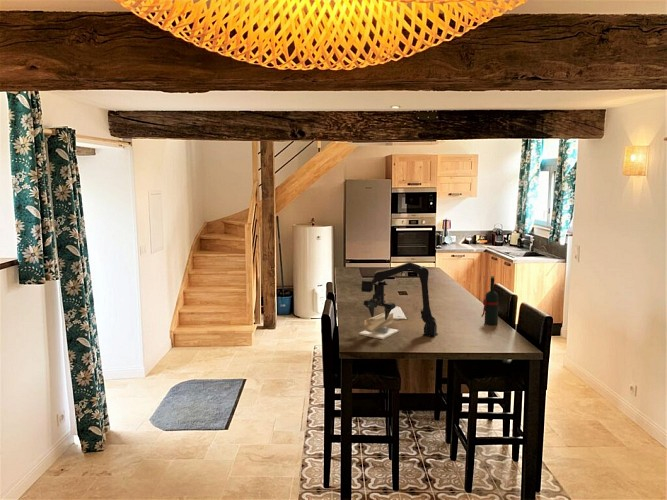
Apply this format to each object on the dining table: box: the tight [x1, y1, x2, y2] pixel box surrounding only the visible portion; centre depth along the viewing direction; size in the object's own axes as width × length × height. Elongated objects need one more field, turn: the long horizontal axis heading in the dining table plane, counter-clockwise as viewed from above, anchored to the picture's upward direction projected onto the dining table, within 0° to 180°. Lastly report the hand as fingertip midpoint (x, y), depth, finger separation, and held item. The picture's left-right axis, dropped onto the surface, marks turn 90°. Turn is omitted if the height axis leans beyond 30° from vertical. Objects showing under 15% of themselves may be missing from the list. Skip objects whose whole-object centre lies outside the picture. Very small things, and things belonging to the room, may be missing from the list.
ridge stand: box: [358, 326, 400, 340], centre depth 300 cm, size 16×18×4 cm
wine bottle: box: [481, 275, 499, 326], centre depth 315 cm, size 8×10×30 cm
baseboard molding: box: [390, 305, 409, 321], centre depth 343 cm, size 31×3×12 cm
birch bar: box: [364, 312, 394, 332], centre depth 299 cm, size 4×24×6 cm, turn 143°
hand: (379, 318), depth 299 cm, fingers open, 9 cm apart
